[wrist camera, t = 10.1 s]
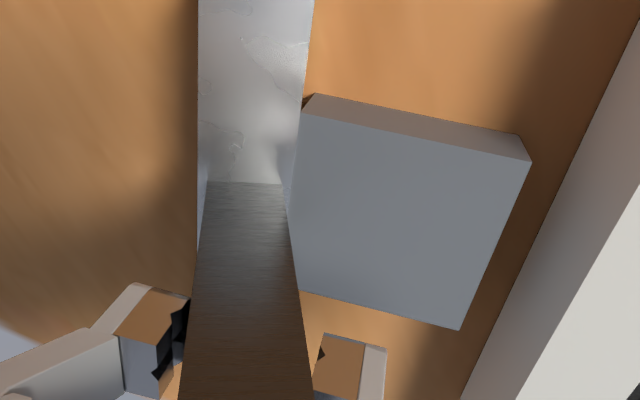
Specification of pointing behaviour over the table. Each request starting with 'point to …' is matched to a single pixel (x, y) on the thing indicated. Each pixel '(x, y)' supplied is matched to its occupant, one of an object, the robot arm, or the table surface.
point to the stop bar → (579, 272)
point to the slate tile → (398, 207)
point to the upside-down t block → (247, 204)
